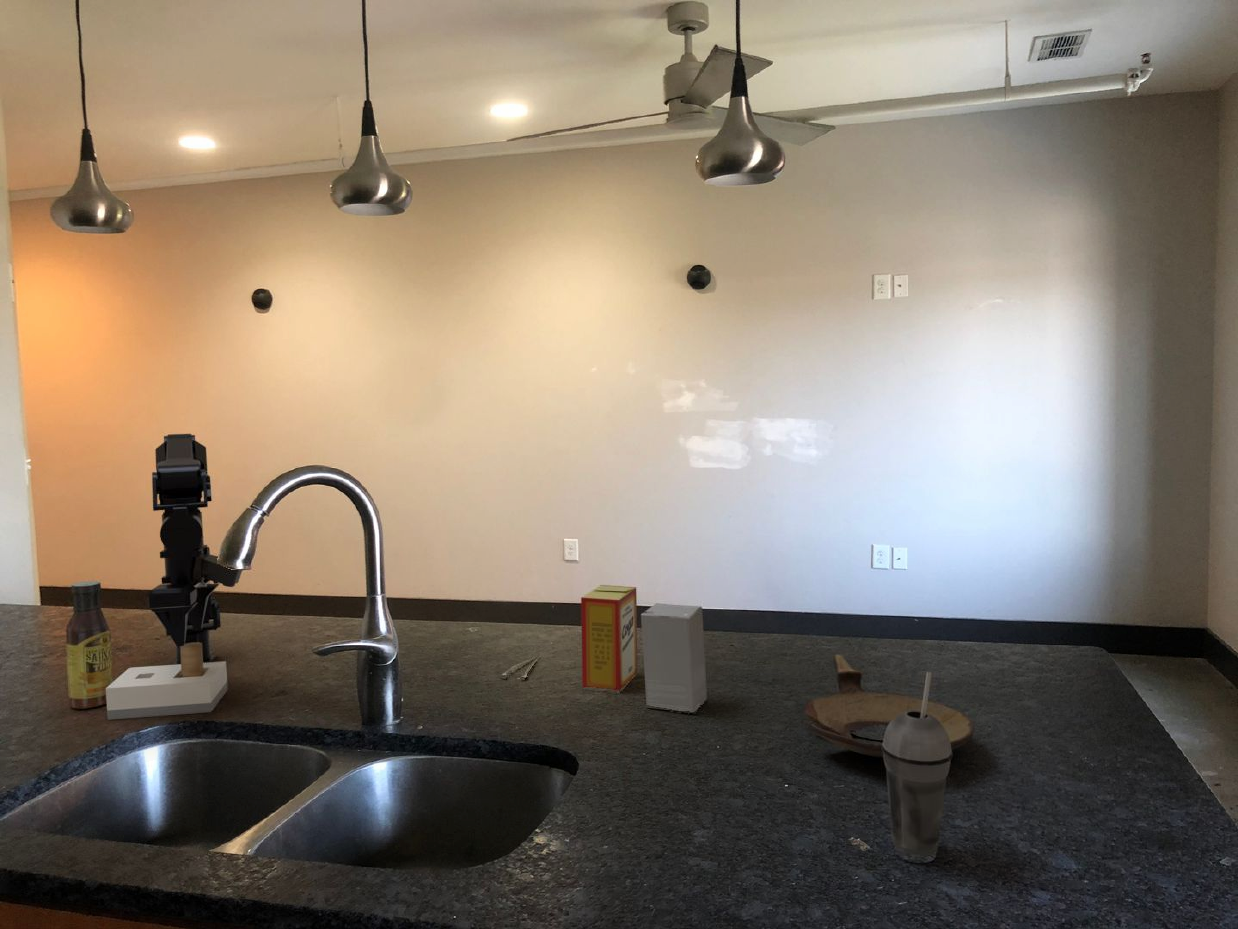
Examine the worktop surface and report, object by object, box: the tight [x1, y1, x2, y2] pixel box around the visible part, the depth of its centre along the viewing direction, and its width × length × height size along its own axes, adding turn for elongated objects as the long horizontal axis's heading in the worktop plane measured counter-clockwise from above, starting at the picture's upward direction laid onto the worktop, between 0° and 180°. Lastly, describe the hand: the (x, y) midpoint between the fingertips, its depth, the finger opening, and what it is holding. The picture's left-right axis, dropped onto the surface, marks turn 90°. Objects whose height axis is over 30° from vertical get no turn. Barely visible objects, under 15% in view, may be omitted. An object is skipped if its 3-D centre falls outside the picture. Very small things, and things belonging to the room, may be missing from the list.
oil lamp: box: [804, 653, 975, 758], centre depth 124 cm, size 22×30×8 cm
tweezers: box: [501, 657, 538, 680], centre depth 159 cm, size 17×5×2 cm, turn 165°
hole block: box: [106, 661, 229, 721], centre depth 141 cm, size 10×15×5 cm, turn 100°
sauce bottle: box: [65, 580, 114, 710], centre depth 141 cm, size 7×6×20 cm
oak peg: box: [180, 642, 204, 678], centre depth 142 cm, size 3×3×8 cm
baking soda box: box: [580, 584, 638, 691], centre depth 149 cm, size 10×6×16 cm
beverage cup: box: [881, 671, 953, 856], centre depth 94 cm, size 7×7×20 cm
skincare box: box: [640, 603, 708, 713], centre depth 137 cm, size 8×7×16 cm
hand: (189, 637), depth 141 cm, fingers open, 9 cm apart
